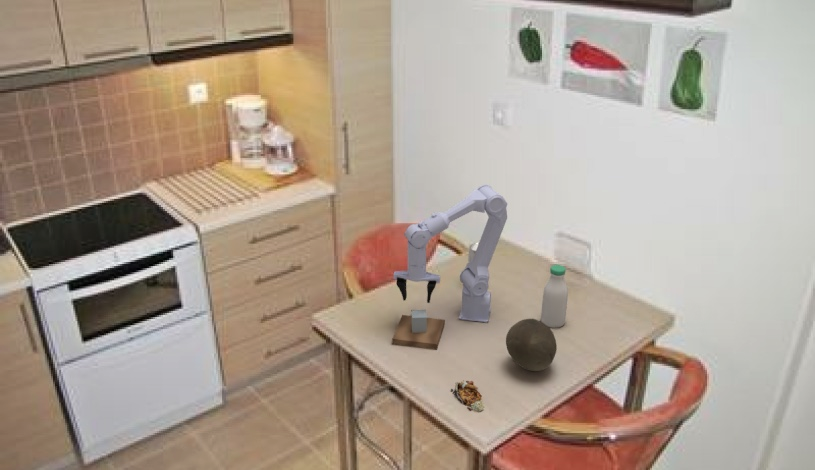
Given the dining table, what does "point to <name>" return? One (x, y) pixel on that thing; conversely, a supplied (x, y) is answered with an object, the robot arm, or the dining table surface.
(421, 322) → the block
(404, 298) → the robot arm
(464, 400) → the turtle figurine
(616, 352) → the dining table surface
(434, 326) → the board
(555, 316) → the milk bottle
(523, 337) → the dark brown coconut
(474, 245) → the beer glass
